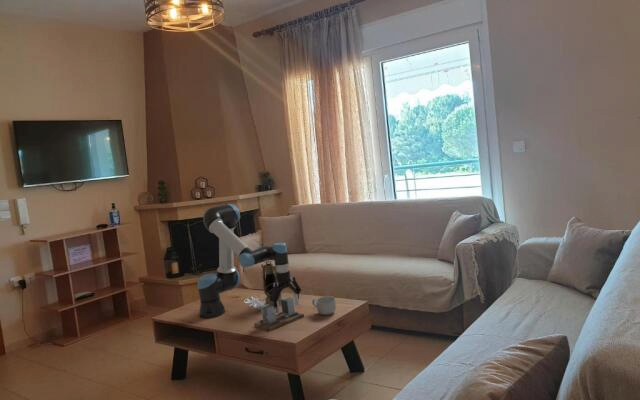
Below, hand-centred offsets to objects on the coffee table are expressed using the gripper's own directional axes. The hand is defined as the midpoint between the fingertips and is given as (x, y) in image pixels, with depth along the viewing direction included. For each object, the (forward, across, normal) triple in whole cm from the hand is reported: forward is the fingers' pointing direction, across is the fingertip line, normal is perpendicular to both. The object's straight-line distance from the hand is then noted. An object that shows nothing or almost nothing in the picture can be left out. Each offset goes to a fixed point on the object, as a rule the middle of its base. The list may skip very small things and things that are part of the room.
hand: (287, 309), depth 258 cm
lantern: (+5, -10, -27) cm, 29 cm away
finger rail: (+5, +6, 0) cm, 8 cm away
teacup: (+5, -15, +13) cm, 21 cm away
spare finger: (+3, 0, 0) cm, 3 cm away
